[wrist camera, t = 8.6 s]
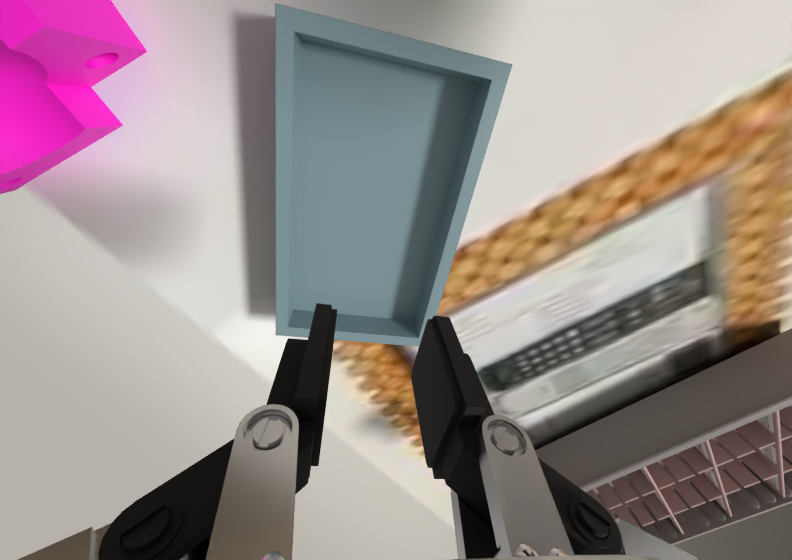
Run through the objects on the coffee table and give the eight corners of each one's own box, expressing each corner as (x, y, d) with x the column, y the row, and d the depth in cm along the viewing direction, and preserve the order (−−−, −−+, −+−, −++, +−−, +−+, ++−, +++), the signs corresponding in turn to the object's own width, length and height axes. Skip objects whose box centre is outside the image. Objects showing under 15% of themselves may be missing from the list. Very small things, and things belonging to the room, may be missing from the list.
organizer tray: (505, 450, 47) (538, 528, 38) (792, 310, 38) (920, 371, 29) (575, 517, 61) (610, 585, 53) (795, 428, 52) (881, 492, 43)
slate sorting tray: (491, 70, 22) (512, 64, 19) (420, 324, 33) (426, 346, 30) (288, 19, 20) (275, 3, 17) (284, 312, 30) (275, 334, 27)
